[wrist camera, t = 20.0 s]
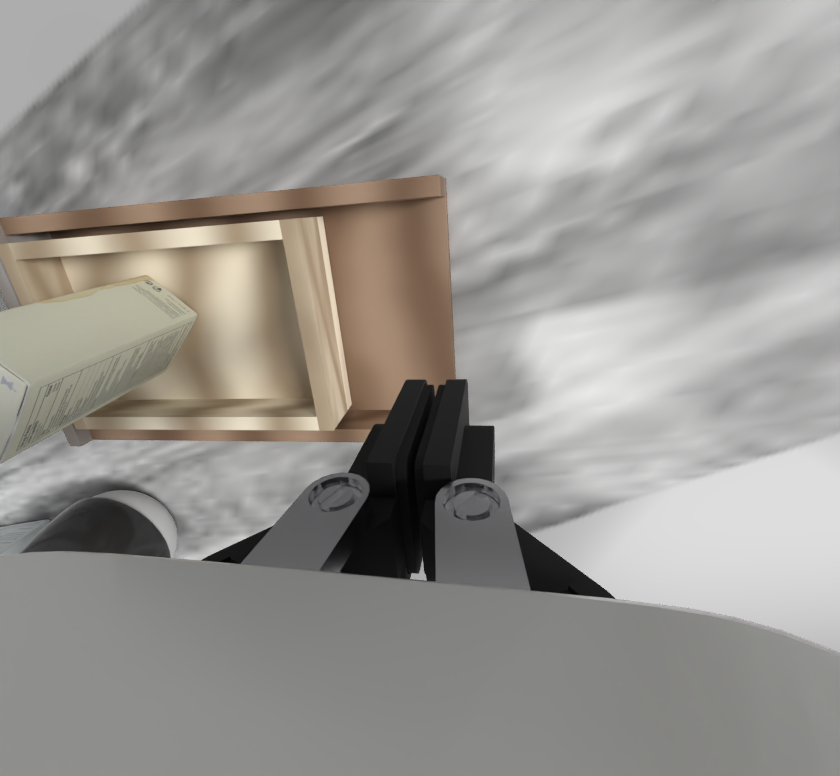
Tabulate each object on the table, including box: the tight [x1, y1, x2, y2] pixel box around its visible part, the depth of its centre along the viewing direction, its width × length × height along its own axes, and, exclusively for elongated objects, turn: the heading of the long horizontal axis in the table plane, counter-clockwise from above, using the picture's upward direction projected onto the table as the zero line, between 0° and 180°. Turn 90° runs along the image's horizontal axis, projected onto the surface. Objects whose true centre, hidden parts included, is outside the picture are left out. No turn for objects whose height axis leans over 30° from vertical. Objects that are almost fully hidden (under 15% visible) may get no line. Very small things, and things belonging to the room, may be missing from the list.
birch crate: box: [0, 216, 352, 431], centre depth 29 cm, size 20×13×4 cm, turn 95°
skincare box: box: [0, 275, 198, 463], centre depth 25 cm, size 6×4×12 cm
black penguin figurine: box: [18, 490, 178, 558], centre depth 35 cm, size 10×10×15 cm
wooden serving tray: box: [0, 175, 456, 446], centre depth 29 cm, size 29×16×5 cm, turn 95°
